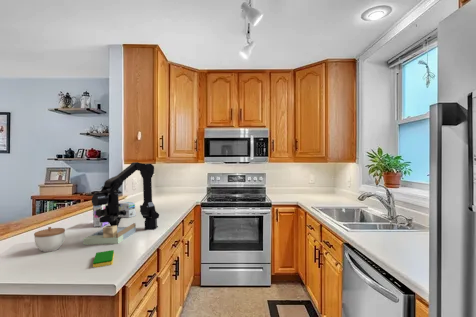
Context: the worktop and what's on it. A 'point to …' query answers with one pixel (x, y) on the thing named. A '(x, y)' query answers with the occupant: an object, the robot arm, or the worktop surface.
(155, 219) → the robot arm
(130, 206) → the light bulb box
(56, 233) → the lidded bowl
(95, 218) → the candy box
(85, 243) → the board
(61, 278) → the worktop surface
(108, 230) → the oak block
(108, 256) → the dish sponge
